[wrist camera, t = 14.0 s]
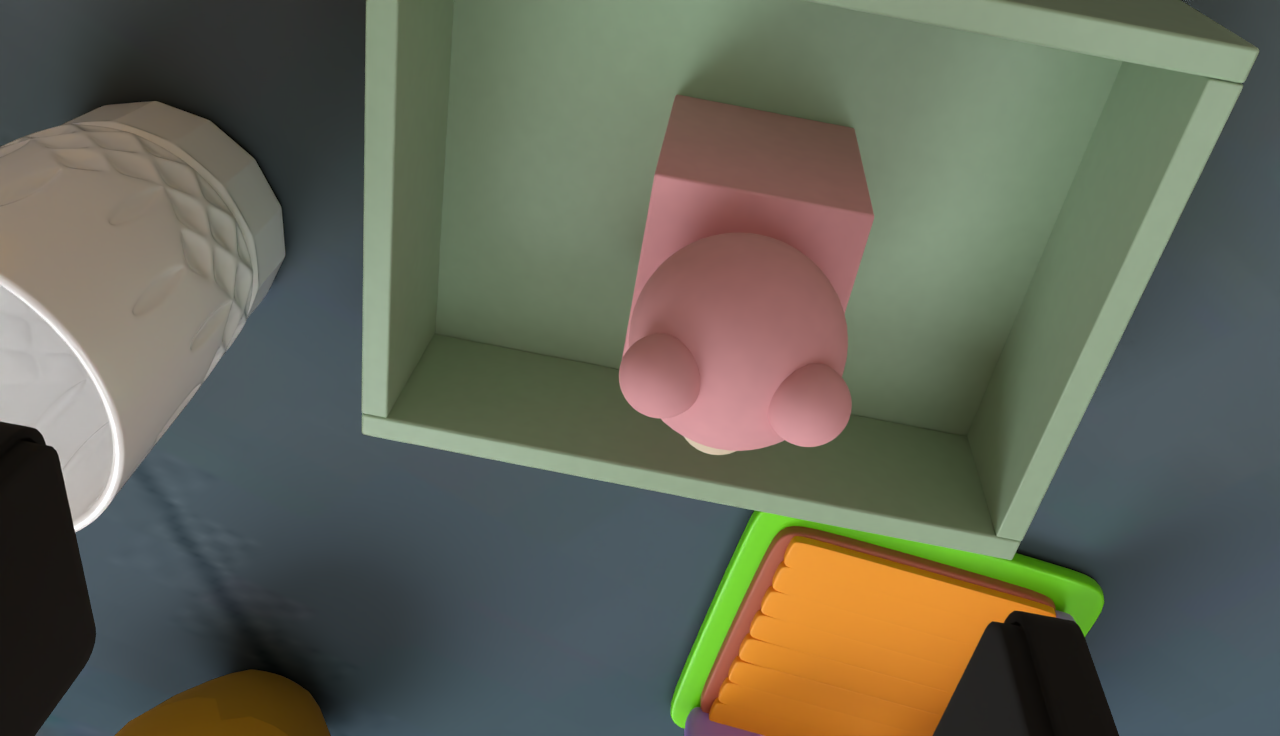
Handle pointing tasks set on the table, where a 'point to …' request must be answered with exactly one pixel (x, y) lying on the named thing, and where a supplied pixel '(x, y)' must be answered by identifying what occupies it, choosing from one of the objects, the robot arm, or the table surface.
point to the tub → (890, 266)
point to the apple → (235, 709)
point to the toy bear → (747, 278)
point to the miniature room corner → (853, 630)
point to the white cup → (124, 281)
